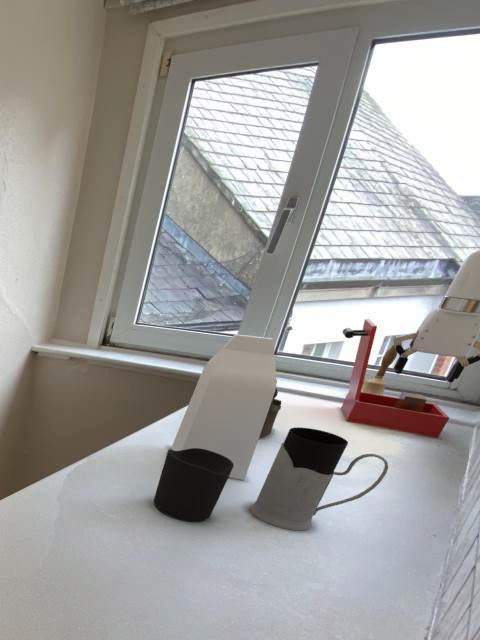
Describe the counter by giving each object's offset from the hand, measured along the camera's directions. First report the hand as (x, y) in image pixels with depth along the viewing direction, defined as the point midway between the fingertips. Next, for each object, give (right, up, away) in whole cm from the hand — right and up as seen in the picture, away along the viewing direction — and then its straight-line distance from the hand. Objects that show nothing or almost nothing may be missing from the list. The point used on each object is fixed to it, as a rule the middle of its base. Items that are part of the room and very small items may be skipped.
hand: (422, 376), depth 137 cm
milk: (-70, -22, -23) cm, 77 cm away
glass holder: (-68, -33, -44) cm, 87 cm away
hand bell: (+11, -2, +26) cm, 28 cm away
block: (0, -11, +5) cm, 12 cm away
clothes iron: (-47, -14, -4) cm, 49 cm away
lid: (-10, +6, +5) cm, 12 cm away
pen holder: (-87, -31, -42) cm, 102 cm away
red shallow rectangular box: (-2, -11, +7) cm, 13 cm away
